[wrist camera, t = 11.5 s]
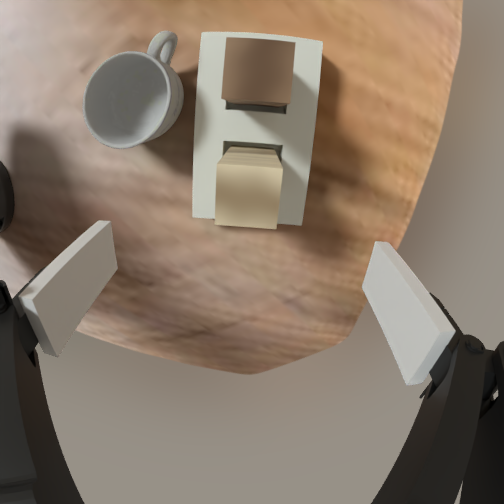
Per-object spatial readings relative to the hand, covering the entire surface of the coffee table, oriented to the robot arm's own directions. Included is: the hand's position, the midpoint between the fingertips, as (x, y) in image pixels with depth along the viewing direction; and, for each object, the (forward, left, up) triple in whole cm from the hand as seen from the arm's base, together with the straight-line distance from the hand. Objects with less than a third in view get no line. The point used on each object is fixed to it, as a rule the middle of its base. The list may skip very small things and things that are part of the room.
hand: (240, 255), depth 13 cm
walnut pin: (0, +10, -24) cm, 26 cm away
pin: (0, 0, -23) cm, 23 cm away
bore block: (0, +5, -24) cm, 24 cm away
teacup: (-12, +9, -24) cm, 28 cm away
